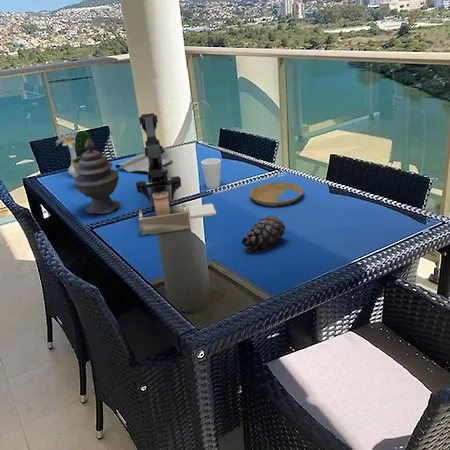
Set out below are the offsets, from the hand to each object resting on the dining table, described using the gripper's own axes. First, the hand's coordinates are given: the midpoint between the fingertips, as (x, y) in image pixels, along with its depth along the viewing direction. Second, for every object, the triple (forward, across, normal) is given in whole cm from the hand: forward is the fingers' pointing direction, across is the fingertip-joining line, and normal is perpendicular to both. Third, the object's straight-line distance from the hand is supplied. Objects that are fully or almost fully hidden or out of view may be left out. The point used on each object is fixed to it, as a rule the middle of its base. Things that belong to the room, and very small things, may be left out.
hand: (161, 202), depth 201 cm
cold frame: (+8, 0, +4) cm, 9 cm away
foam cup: (-18, +27, +30) cm, 44 cm away
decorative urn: (-10, -27, +22) cm, 37 cm away
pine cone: (+32, +35, -19) cm, 51 cm away
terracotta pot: (+6, 0, +6) cm, 9 cm away
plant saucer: (0, +52, +12) cm, 53 cm away
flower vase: (-53, -44, +64) cm, 94 cm away
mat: (-52, -6, +64) cm, 83 cm away
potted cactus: (-37, -34, +49) cm, 70 cm away
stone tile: (+3, +17, +9) cm, 19 cm away
